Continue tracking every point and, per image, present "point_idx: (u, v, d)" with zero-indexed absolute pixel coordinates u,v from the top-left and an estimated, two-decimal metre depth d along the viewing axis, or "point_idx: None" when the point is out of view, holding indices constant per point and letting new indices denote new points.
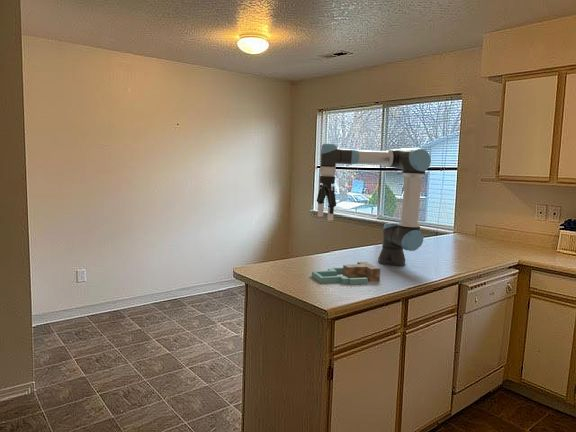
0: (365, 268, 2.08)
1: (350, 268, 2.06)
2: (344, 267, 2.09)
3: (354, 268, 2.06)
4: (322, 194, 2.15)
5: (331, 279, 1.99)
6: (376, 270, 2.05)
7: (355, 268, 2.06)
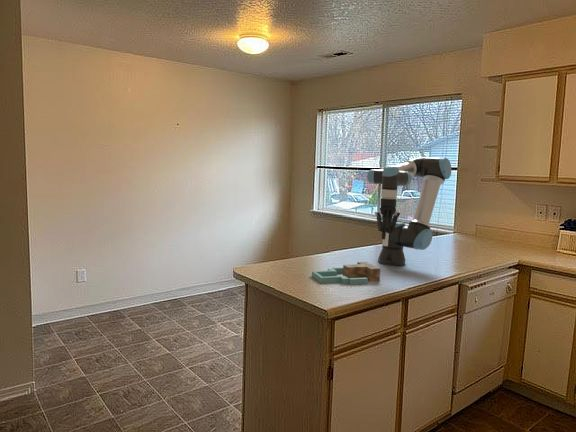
0: (365, 268, 2.08)
1: (350, 268, 2.06)
2: (344, 267, 2.09)
3: (354, 268, 2.06)
4: None
5: (331, 279, 1.99)
6: (376, 270, 2.05)
7: (355, 268, 2.06)
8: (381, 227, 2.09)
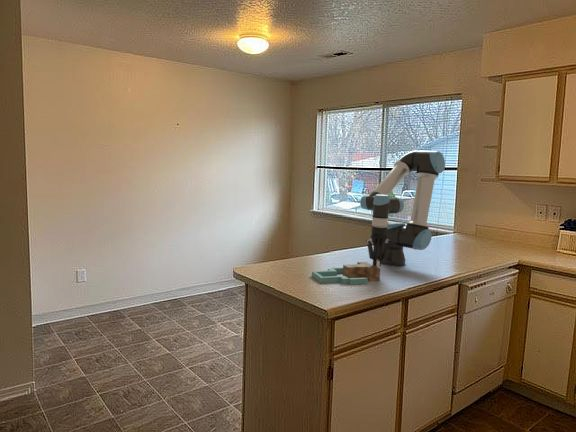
0: (365, 268, 2.08)
1: (350, 268, 2.06)
2: (344, 267, 2.09)
3: (354, 268, 2.06)
4: None
5: (331, 279, 1.99)
6: (376, 270, 2.05)
7: (355, 268, 2.06)
8: (372, 255, 2.10)
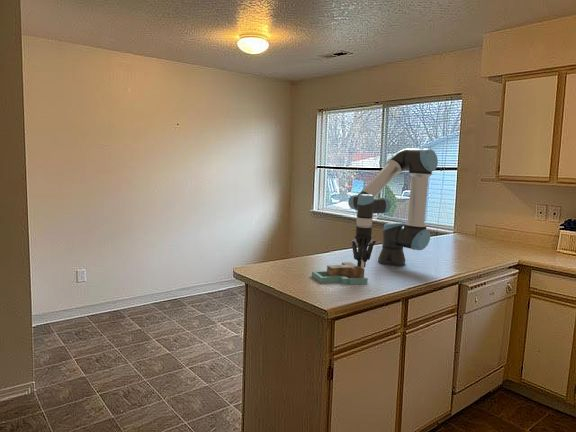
0: (349, 269, 2.05)
1: (334, 269, 2.03)
2: (328, 268, 2.06)
3: (338, 269, 2.03)
4: (363, 246, 2.10)
5: (331, 279, 1.99)
6: (360, 271, 2.02)
7: (339, 269, 2.04)
8: (356, 256, 2.07)
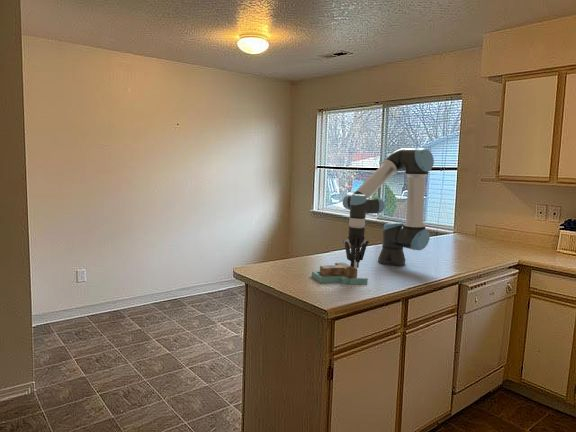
0: (342, 269, 2.04)
1: (326, 269, 2.02)
2: (321, 268, 2.05)
3: (331, 269, 2.02)
4: (356, 246, 2.09)
5: (331, 279, 1.99)
6: (353, 271, 2.01)
7: (332, 269, 2.02)
8: (349, 256, 2.06)
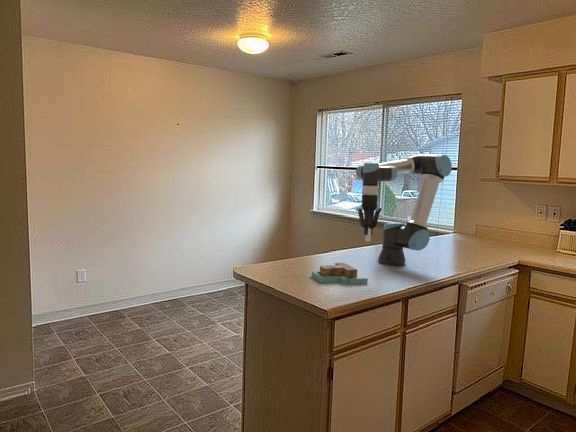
0: (342, 269, 2.04)
1: (326, 269, 2.02)
2: (321, 268, 2.05)
3: (331, 269, 2.02)
4: None
5: (331, 279, 1.99)
6: (353, 271, 2.01)
7: (332, 269, 2.02)
8: (363, 223, 2.10)
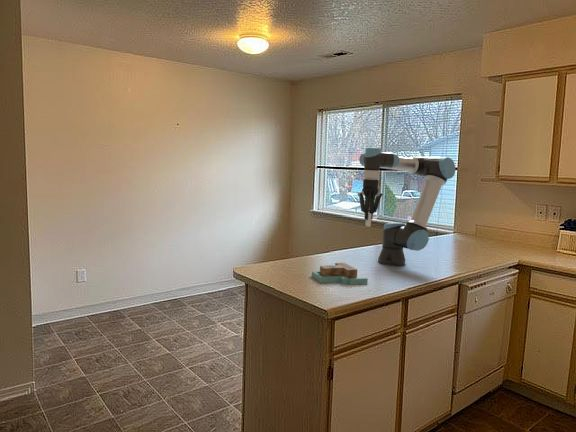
0: (342, 269, 2.04)
1: (326, 269, 2.02)
2: (321, 268, 2.05)
3: (331, 269, 2.02)
4: (370, 199, 2.14)
5: (331, 279, 1.99)
6: (353, 271, 2.01)
7: (332, 269, 2.02)
8: (364, 207, 2.12)
